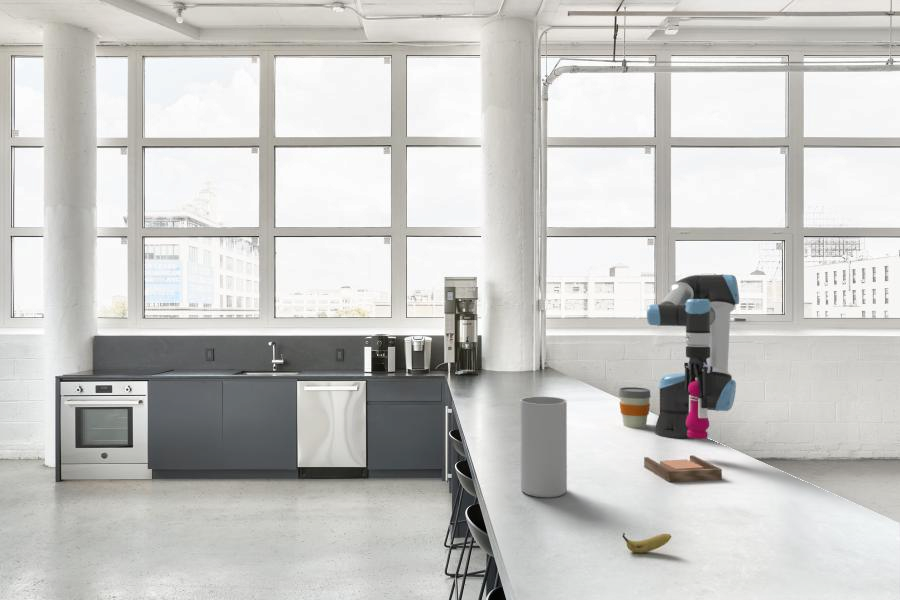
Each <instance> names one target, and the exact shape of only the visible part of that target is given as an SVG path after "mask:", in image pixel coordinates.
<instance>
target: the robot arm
mask: <svg viewBox="0 0 900 600" xmlns="http://www.w3.org/2000/svg"><path fill="white" fill-rule="evenodd" d="M739 304H740V294H739V287H738V281H737V278H736V276H735V275H733V274H723V273H722V274H700V275H699V274H694V275H689V276H686V277H684V278H683V277H682V278H681V279H679V280H678V281H675V282H674V283H673V284H672V285H671V286H670V287H669V289H668V292H667V295H665V297H664V298H663V300H662V301H661V302H660V303H659V304H657V303H656V304H649V305H648V307H647V309H646V320H647V323H648V325H650V326H657V327H663V326H664V327H685V336H684V337H685V345H686V346H685V357H686V358H688V359H689V360H688V361H687V362H684V363H683V364H684V373H672V374H665V375H663V376H661V377H660V379H659V388H658V389H659V415H658V418H657V421H656V423H655V426H654V433H655V435H658V436H662V437H666V438H672V439H674V438H675V439H691V438H690V437H688V436H687V431H688V430H689V428H688V427H687V426H686V419H687V416H688V414H689V412H690V410H691V400H690V395H691V394H690V393H689V391H688V386H689V384H690V383H691V382H693V381H696V380H695V378H696V377H697V379H698V386H699V394H700V396H698V418H707V417H708V411H715V412H719V411H720V412H728V411H730V410H731V409H732V407H733V405H734V401H735V397H736V391H737V390H736V387H737V383H736V381H735V380H734V379H732V378H733V377H732V374H731V373H729V371H728V368H729V352H730V351H729V350H730V348H729V347H730V345H729V344H730V327H731V326H730V324H731V322H730V321H731V313H732V312H733V311H734V310H735V307H736V305H739Z"/></svg>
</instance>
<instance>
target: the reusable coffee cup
mask: <svg viewBox="0 0 900 600" xmlns="http://www.w3.org/2000/svg"><path fill="white" fill-rule="evenodd" d="M618 396H619V399H620V400H619V409H620V414H621V415H622V423H623V426H624V427H626V428H631V429H644V428H646V427H647V421H648V415H649V413H650V406H651V403H650V398H651V397H652V396H651V390H650V389H649V388H645V387H636V386H635V387H634V386H633V387H632V386H630V387H628V386H627V387H620V388H619V391H618Z"/></svg>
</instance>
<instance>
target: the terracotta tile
mask: <svg viewBox="0 0 900 600" xmlns="http://www.w3.org/2000/svg"><path fill="white" fill-rule="evenodd" d="M659 464H660V465H662V466H664V467H666V468H667V469H669V470H690V469H704V467H702V466H700V465H698V464H696V463H693V462H691V461H690V459H687V458H685V459H670V460H659Z"/></svg>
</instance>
